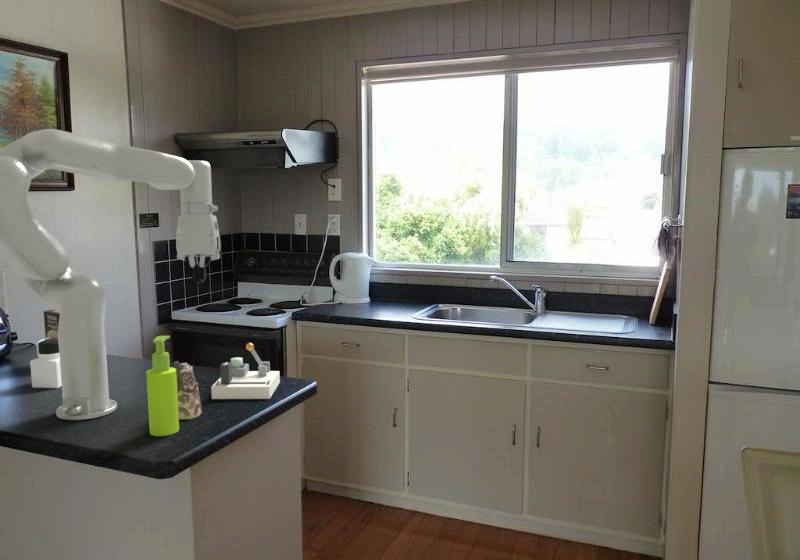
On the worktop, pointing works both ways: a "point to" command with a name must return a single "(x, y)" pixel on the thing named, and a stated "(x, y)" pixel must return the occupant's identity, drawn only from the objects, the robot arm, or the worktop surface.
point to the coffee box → (51, 323)
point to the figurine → (187, 392)
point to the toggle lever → (254, 354)
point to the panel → (248, 384)
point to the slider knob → (226, 372)
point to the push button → (237, 362)
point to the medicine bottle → (46, 365)
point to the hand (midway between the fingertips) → (199, 282)
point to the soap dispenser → (162, 393)
